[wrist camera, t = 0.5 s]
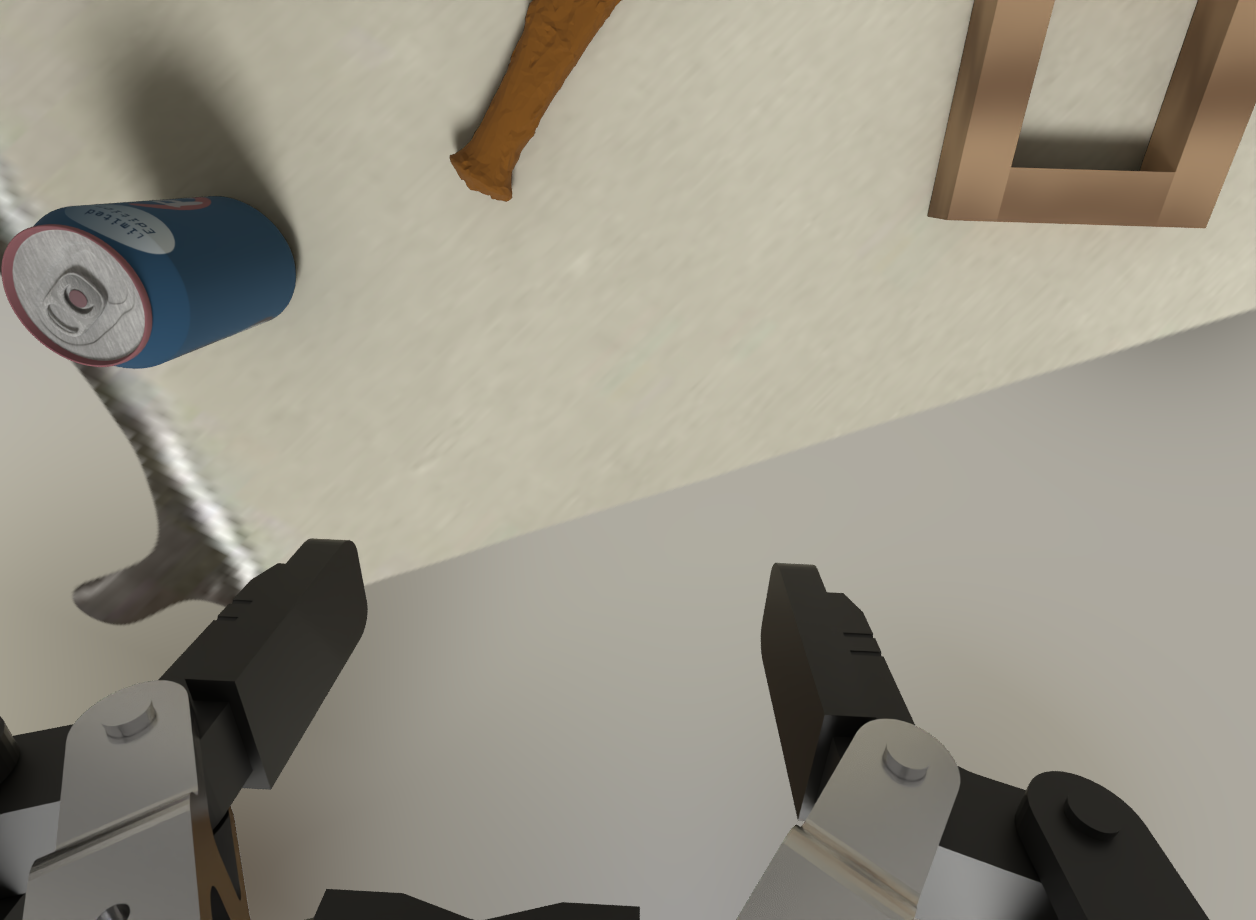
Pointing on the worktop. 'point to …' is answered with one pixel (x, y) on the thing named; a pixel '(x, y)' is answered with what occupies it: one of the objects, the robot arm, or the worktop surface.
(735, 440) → the worktop surface
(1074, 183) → the walnut collar
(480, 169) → the primitive tool
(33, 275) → the soda can
